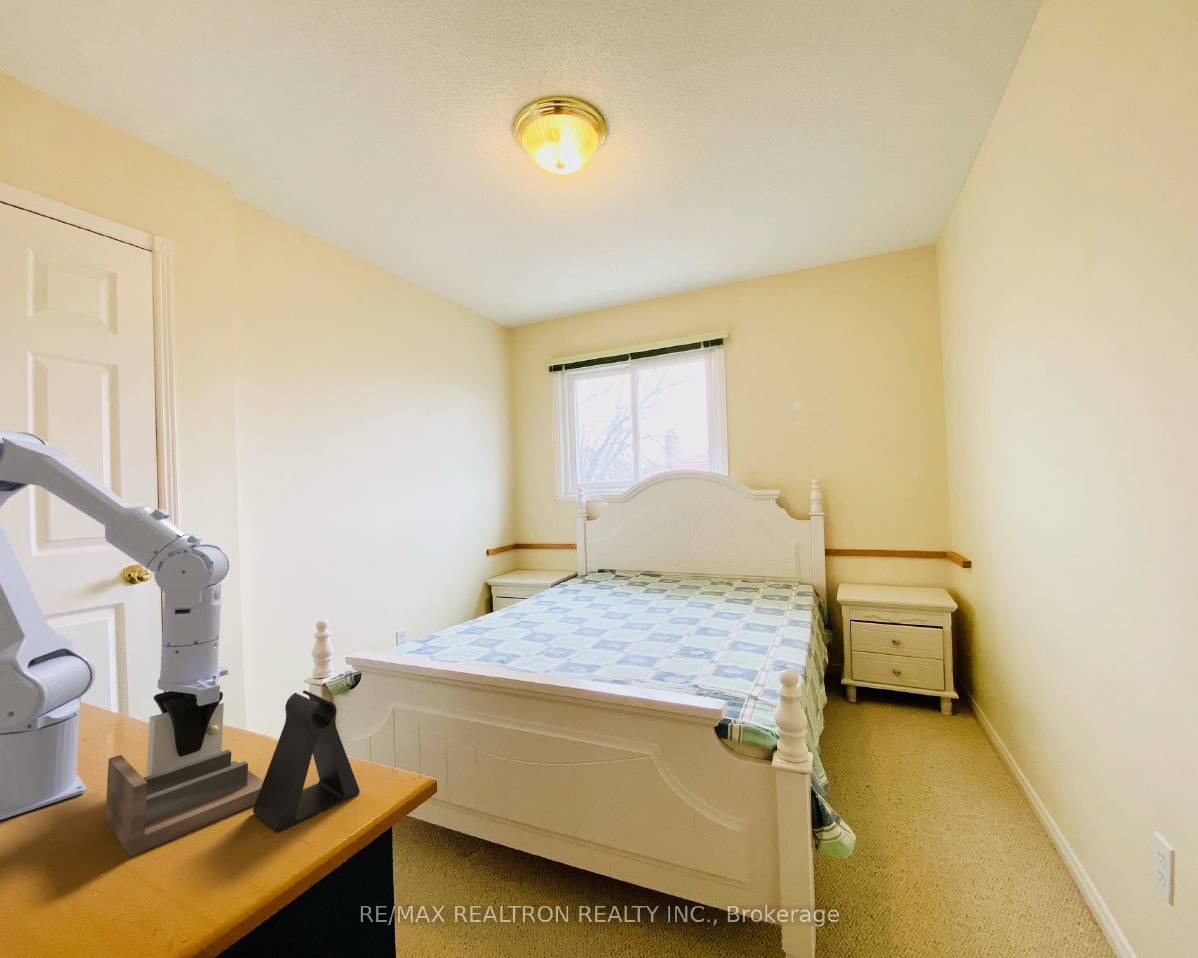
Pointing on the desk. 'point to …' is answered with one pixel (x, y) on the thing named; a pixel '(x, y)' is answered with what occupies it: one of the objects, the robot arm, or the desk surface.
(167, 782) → the brown base with rails
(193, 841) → the desk surface
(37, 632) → the robot arm
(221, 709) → the cabinet door
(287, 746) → the phone stand
